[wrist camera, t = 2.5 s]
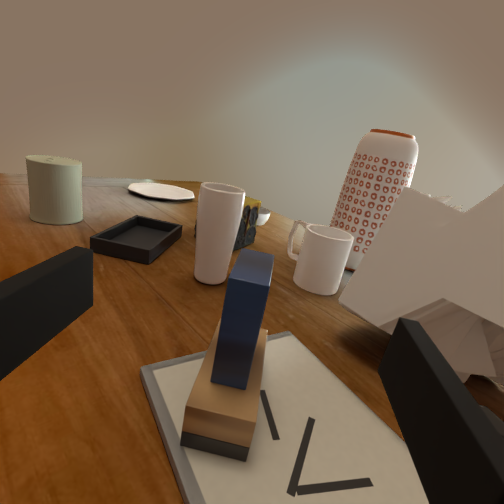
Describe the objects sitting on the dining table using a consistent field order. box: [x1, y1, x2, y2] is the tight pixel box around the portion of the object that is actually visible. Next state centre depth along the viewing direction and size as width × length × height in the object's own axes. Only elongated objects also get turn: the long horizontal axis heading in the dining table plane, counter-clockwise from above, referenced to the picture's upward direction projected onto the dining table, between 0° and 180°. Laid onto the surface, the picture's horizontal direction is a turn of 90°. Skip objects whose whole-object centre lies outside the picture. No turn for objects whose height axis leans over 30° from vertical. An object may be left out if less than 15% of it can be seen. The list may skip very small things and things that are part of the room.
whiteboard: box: [140, 331, 429, 504], centre depth 25 cm, size 18×24×1 cm
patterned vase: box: [330, 129, 418, 271], centre depth 64 cm, size 13×13×28 cm
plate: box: [128, 183, 194, 201], centre depth 97 cm, size 20×20×2 cm
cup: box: [287, 220, 354, 295], centre depth 55 cm, size 8×12×10 cm
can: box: [26, 155, 83, 225], centre depth 60 cm, size 9×9×12 cm
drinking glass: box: [194, 182, 245, 285], centre depth 47 cm, size 7×7×15 cm
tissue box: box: [338, 185, 504, 386], centre depth 36 cm, size 20×16×25 cm
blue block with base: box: [180, 248, 274, 462], centre depth 25 cm, size 11×5×13 cm, turn 173°
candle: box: [194, 196, 261, 251], centre depth 66 cm, size 10×10×10 cm
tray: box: [90, 215, 182, 264], centre depth 58 cm, size 16×10×3 cm, turn 173°
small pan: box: [257, 207, 270, 225], centre depth 89 cm, size 11×18×4 cm, turn 64°
